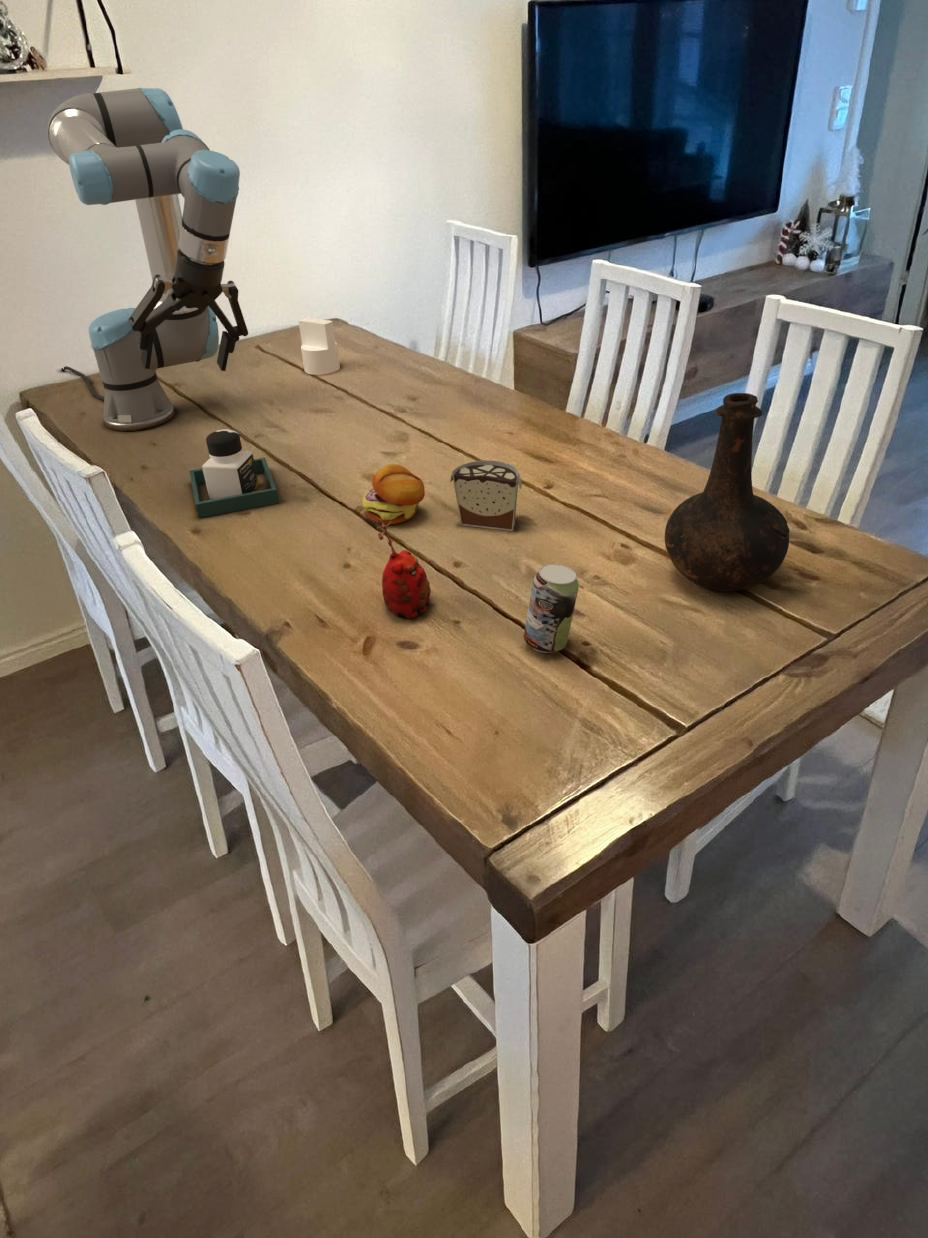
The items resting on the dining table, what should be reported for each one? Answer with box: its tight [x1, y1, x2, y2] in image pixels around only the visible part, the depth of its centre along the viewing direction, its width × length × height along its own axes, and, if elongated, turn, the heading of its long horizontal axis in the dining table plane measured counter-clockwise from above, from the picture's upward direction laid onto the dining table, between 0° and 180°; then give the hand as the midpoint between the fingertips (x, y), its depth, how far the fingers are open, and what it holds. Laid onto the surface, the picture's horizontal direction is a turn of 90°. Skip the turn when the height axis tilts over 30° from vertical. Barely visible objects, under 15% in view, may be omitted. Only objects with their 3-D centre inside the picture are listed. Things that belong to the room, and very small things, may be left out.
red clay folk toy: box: [376, 519, 432, 620], centre depth 131 cm, size 8×7×15 cm
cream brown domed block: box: [449, 459, 523, 532], centre depth 154 cm, size 12×6×10 cm, turn 71°
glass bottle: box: [664, 392, 790, 592], centre depth 130 cm, size 18×18×28 cm
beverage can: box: [523, 563, 580, 654], centre depth 122 cm, size 6×7×12 cm
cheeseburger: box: [362, 463, 426, 525], centre depth 158 cm, size 10×11×10 cm
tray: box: [189, 457, 280, 519], centre depth 170 cm, size 16×15×3 cm
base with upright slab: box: [298, 317, 341, 376], centre depth 225 cm, size 9×9×12 cm
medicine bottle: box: [201, 428, 259, 500], centre depth 168 cm, size 7×7×12 cm
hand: (184, 365), depth 162 cm, fingers open, 13 cm apart
